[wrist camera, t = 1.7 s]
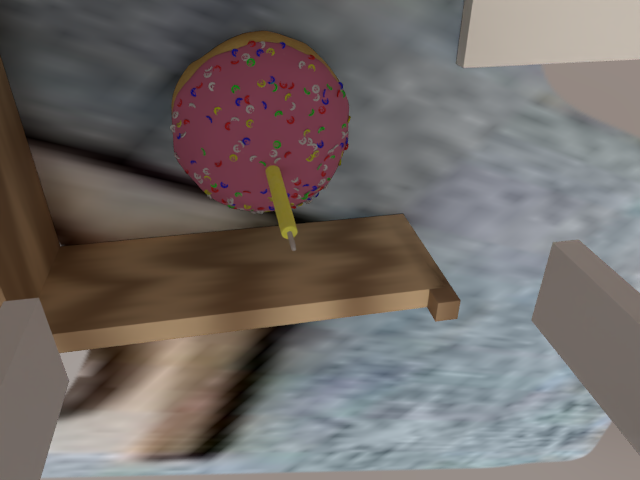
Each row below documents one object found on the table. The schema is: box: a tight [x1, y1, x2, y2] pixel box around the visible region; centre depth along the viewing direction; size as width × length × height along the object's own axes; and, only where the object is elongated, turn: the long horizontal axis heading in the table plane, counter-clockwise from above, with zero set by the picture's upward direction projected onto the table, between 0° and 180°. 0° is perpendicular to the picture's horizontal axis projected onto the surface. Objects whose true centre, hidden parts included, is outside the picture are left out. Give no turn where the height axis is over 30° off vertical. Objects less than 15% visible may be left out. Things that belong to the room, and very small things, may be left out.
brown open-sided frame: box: [0, 56, 460, 353], centre depth 25 cm, size 22×18×9 cm
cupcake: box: [170, 31, 351, 251], centre depth 24 cm, size 9×8×12 cm
